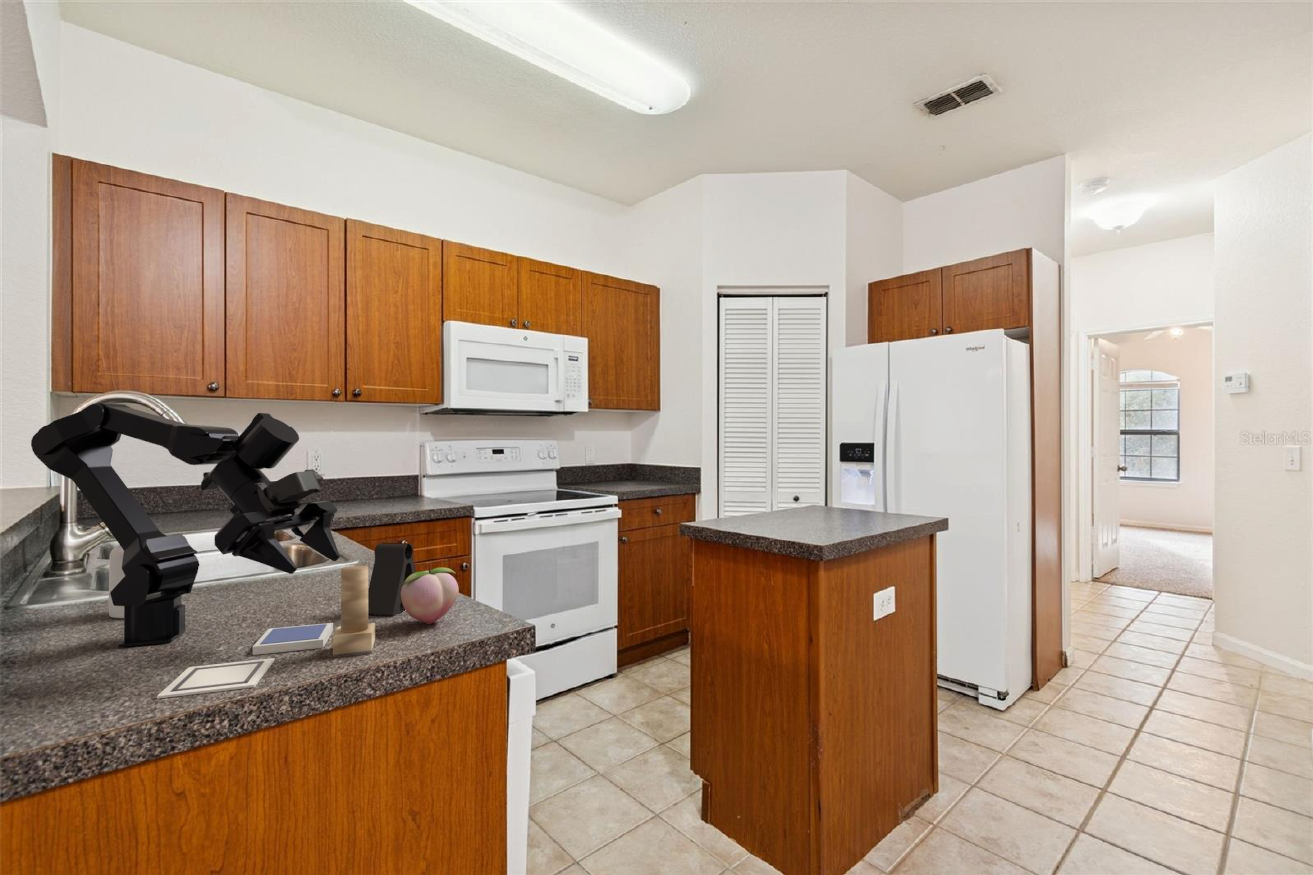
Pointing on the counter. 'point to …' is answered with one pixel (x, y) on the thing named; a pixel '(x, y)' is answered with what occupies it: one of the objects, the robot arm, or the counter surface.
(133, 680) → the counter surface
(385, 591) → the phone stand
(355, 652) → the stamp
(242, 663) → the card
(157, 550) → the robot arm
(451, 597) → the decorative fruit
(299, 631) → the ink pad
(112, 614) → the pill bottle
